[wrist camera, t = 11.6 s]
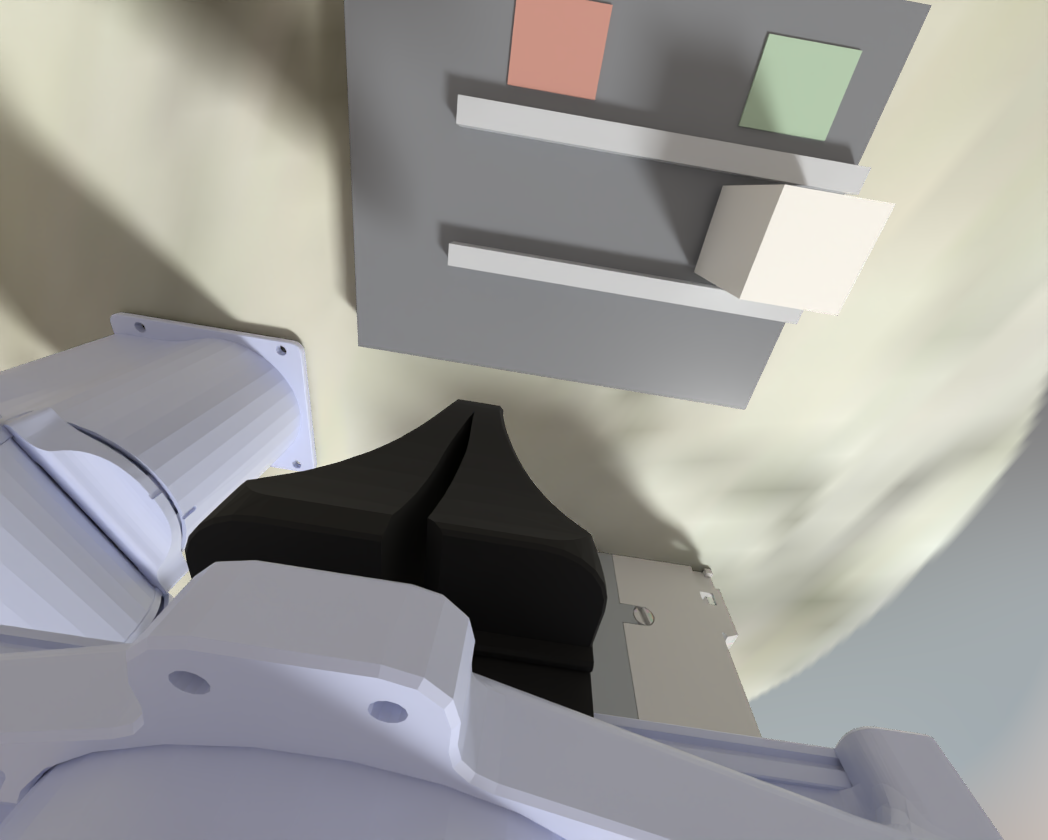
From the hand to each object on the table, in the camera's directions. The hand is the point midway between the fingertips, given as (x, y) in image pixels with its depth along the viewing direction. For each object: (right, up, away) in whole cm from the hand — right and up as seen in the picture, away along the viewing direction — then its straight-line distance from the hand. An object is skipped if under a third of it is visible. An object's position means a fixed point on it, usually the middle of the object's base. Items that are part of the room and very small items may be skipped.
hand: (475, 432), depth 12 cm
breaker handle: (+10, +7, +3) cm, 13 cm away
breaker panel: (+4, +9, +5) cm, 11 cm away
